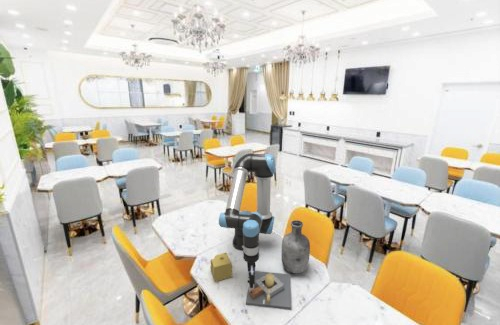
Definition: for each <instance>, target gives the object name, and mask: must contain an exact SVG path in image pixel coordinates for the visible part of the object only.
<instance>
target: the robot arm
mask: <svg viewBox="0 0 500 325" xmlns="http://www.w3.org/2000/svg"><path fill="white" fill-rule="evenodd" d="M235 162H236V163H235V165H234V167H233V170H232V174H233V177H232V181H231V186H230V191H229V193H228V194H229V195H228V198H227V203H226V207H225V211H224V212H221V213H219V214H220V215H219V217H218V225H219V226H220V227H221V228H223V229H234V235H233V238H232V246H233V248H234V249H235V250H238V251H243V257H242V258H243V261H244V262H246V266H247V273H248V276H247V277H248V280H247V283H248V287H249V292H250V291H252V290H253V289H254V283H255V282H254V279H255V272H254V271H256V263H257V262H258V260H259V259H260V241H259V240H260V234H261V235H271V234H272V233H273V229H274V228H273V227H274V224H275V223H274V222H275V218H276V217H275V216H273V213H272V211H271V181H272V177H273V176H274V174H276V171H277V170H276V168H277V167H276V159H275V156H274V155H273V154H269V153H246V154H244V155H242V156H241V157H240V158H239V159H238V160H237V161H235ZM249 173H254V177H255V178H256V211H253V212H252V211H249V210H241V206H242V202H243V195H244V191H245V185H246V180H247V177H248V176H249Z"/></svg>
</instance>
